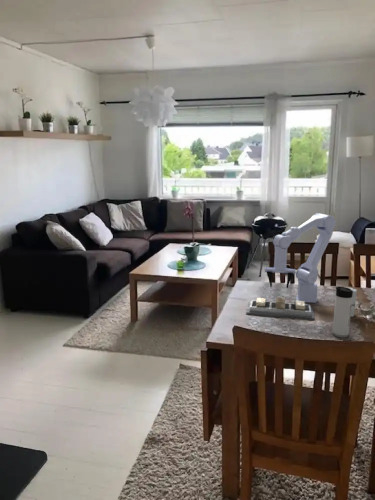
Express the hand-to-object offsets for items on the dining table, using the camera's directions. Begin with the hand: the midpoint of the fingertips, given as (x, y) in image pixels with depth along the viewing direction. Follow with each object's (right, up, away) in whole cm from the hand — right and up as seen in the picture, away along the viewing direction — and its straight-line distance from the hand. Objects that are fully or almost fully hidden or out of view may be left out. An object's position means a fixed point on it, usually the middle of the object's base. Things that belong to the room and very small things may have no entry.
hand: (279, 287), depth 201 cm
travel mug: (+17, -16, -33) cm, 41 cm away
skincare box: (+29, -12, -12) cm, 33 cm away
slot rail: (-2, -11, -9) cm, 14 cm away
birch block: (-2, -10, -9) cm, 13 cm away
